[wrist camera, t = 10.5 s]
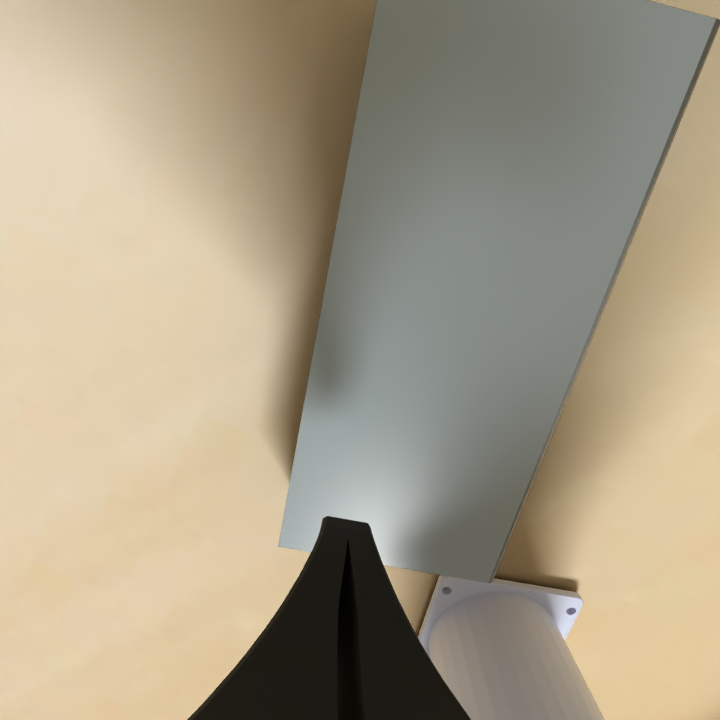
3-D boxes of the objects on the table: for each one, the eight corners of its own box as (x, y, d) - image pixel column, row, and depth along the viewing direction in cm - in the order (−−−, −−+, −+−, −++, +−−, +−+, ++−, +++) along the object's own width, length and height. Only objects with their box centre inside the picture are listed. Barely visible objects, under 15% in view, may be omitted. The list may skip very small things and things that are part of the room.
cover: (490, 572, 17) (494, 584, 16) (281, 535, 16) (278, 546, 16) (707, 32, 11) (726, 21, 10) (388, -52, 10) (389, -69, 10)
